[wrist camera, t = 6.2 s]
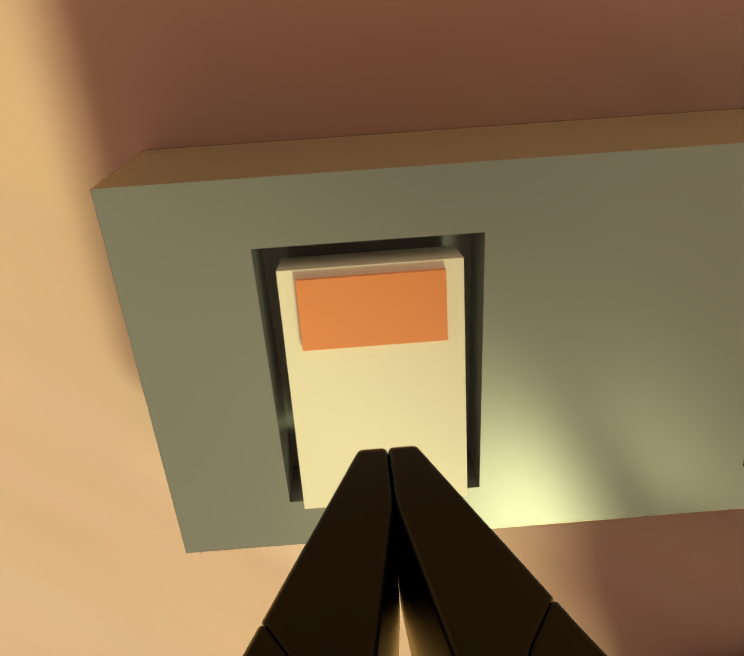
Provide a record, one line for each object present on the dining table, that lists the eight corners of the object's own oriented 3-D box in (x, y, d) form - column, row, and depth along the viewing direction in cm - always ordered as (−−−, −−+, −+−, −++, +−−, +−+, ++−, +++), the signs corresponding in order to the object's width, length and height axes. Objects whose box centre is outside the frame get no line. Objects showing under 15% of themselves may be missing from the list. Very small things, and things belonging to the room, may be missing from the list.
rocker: (458, 469, 17) (468, 499, 15) (307, 481, 16) (304, 512, 15) (454, 245, 14) (464, 258, 13) (281, 258, 14) (275, 273, 13)
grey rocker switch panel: (900, 406, 21) (1015, 486, 17) (212, 459, 21) (186, 553, 17) (1022, 88, 16) (1210, 109, 13) (145, 150, 16) (89, 189, 13)
